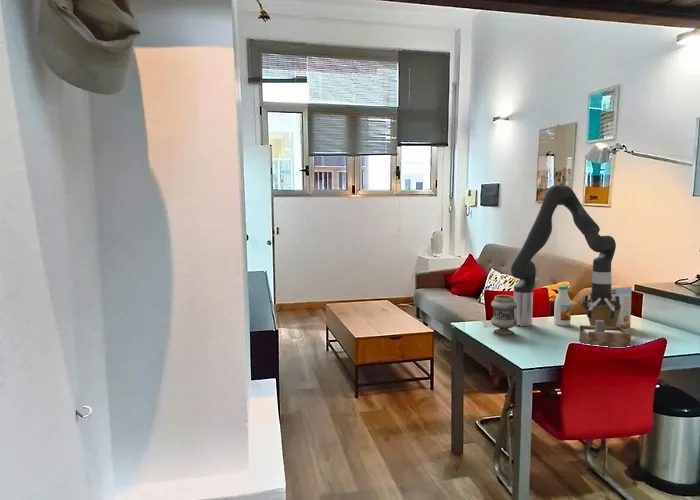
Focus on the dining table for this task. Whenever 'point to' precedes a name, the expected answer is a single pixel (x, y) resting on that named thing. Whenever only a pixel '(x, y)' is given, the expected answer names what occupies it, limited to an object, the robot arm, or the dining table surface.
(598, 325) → the lid
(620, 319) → the cracker box
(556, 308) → the milk bottle
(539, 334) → the dining table surface
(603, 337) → the walnut box
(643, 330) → the dining table surface
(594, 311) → the plant pot
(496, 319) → the apothecary jar
